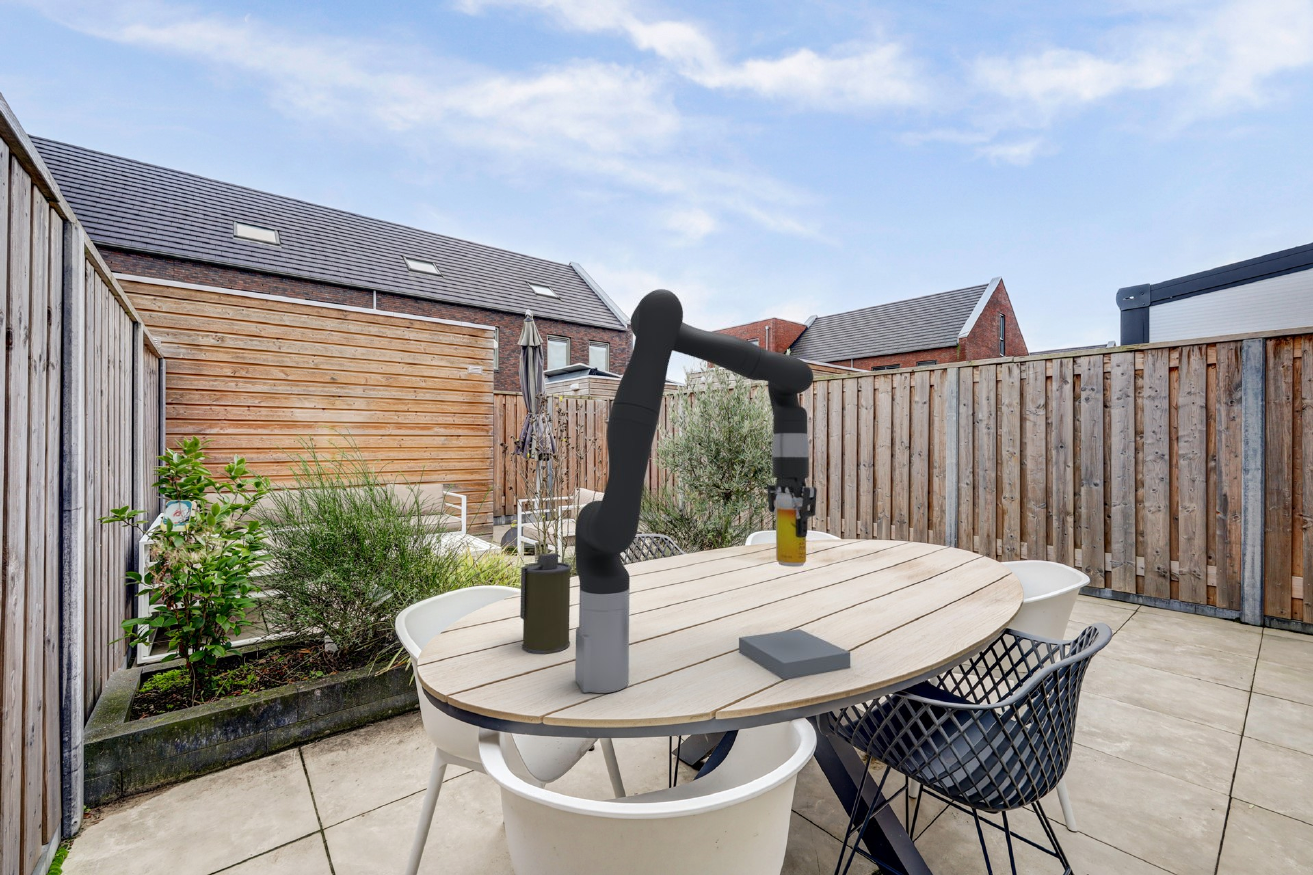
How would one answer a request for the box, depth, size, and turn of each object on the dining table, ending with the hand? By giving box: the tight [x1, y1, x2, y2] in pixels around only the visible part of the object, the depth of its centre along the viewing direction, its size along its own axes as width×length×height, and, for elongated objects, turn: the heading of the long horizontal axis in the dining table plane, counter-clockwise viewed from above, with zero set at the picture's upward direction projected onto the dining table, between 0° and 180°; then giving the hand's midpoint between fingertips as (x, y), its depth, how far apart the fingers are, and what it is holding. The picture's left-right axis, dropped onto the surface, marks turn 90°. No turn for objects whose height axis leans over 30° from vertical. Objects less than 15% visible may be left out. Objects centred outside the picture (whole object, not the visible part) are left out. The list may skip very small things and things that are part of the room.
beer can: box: [775, 493, 807, 568], centre depth 112 cm, size 6×6×15 cm
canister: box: [519, 552, 572, 655], centre depth 118 cm, size 11×10×20 cm
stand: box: [738, 628, 851, 681], centre depth 110 cm, size 16×16×3 cm
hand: (791, 534), depth 112 cm, fingers closed on beer can, 6 cm apart
